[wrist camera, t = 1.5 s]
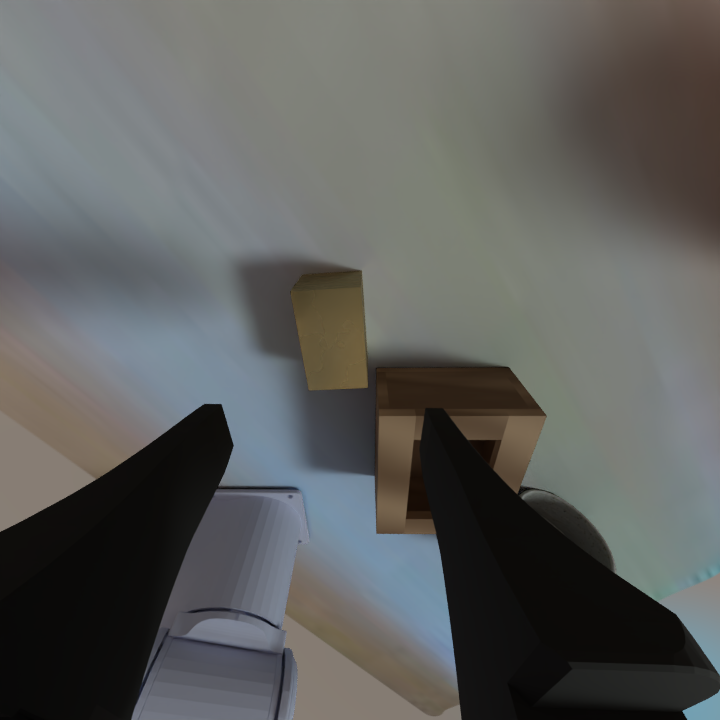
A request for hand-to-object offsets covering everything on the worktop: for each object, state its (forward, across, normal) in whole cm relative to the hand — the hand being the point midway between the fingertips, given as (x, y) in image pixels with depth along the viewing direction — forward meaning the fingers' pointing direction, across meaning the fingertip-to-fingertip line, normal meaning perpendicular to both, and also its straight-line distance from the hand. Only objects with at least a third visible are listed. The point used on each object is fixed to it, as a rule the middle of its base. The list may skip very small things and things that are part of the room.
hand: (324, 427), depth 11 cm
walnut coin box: (+10, -7, +9) cm, 15 cm away
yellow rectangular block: (+10, 0, 0) cm, 10 cm away
